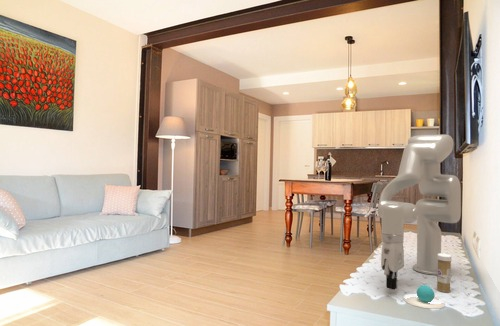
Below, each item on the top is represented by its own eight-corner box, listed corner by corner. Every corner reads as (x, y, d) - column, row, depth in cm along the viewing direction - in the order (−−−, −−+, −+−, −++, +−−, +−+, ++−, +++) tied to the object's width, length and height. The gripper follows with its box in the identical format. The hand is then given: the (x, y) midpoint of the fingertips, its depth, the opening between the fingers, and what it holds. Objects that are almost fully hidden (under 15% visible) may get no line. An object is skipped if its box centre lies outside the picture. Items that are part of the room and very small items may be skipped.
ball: (432, 302, 121) (415, 294, 125) (438, 288, 120) (421, 280, 124) (429, 307, 117) (412, 298, 120) (435, 293, 116) (418, 284, 119)
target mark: (410, 291, 130) (410, 290, 130) (450, 301, 121) (450, 300, 121) (396, 300, 121) (396, 300, 121) (438, 312, 112) (438, 311, 112)
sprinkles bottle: (434, 289, 132) (434, 253, 132) (441, 287, 134) (442, 252, 134) (445, 293, 128) (446, 256, 128) (453, 291, 130) (454, 255, 130)
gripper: (394, 243, 120) (393, 296, 120) (410, 236, 131) (409, 286, 131) (373, 239, 126) (372, 291, 126) (390, 233, 136) (389, 281, 136)
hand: (391, 288), depth 128 cm, fingers closed
